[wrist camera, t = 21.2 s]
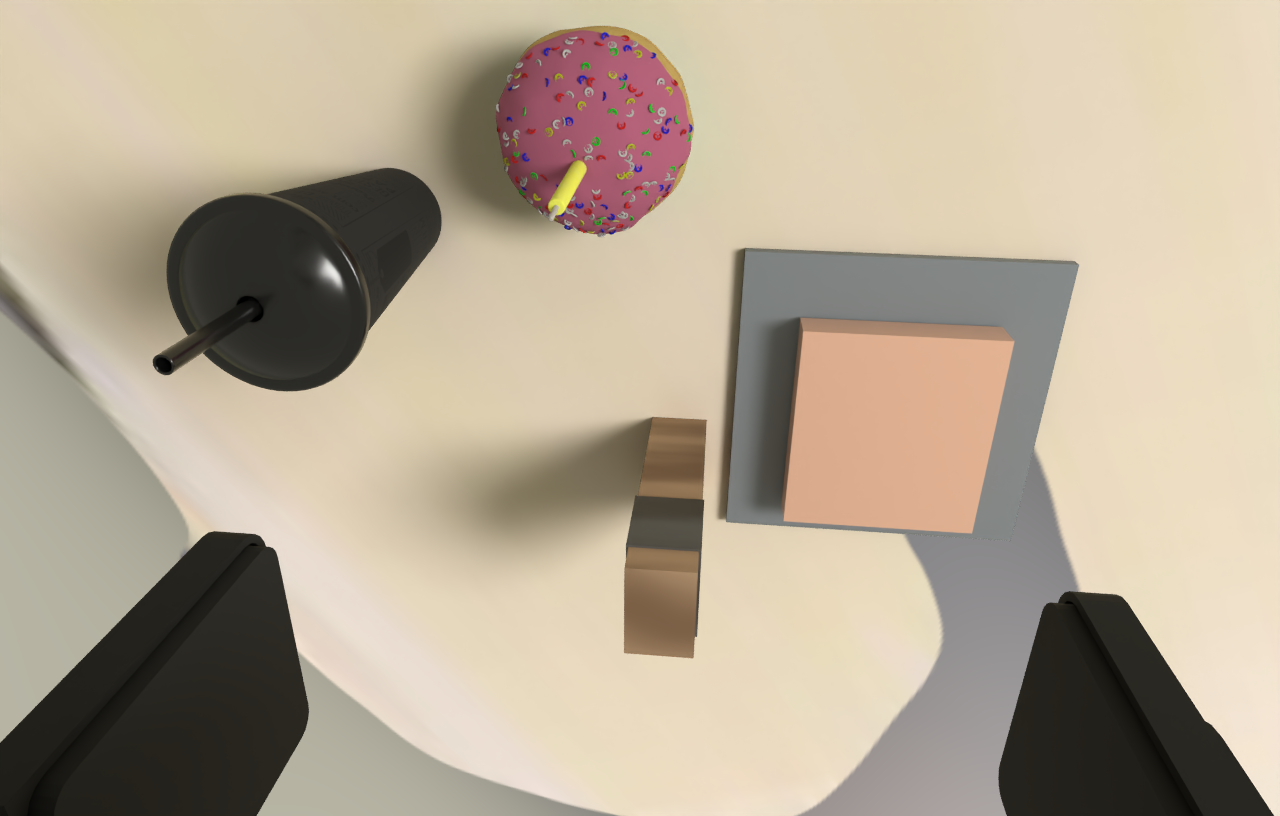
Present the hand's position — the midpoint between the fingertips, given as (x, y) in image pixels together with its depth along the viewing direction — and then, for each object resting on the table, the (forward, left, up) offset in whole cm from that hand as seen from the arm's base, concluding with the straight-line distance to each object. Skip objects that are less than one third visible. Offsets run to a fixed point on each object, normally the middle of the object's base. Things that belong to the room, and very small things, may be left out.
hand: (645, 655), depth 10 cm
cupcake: (-2, -5, -34) cm, 35 cm away
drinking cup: (+3, -16, -34) cm, 38 cm away
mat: (+12, +10, -34) cm, 38 cm away
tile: (+7, +10, -32) cm, 35 cm away
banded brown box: (+16, -1, -34) cm, 38 cm away
